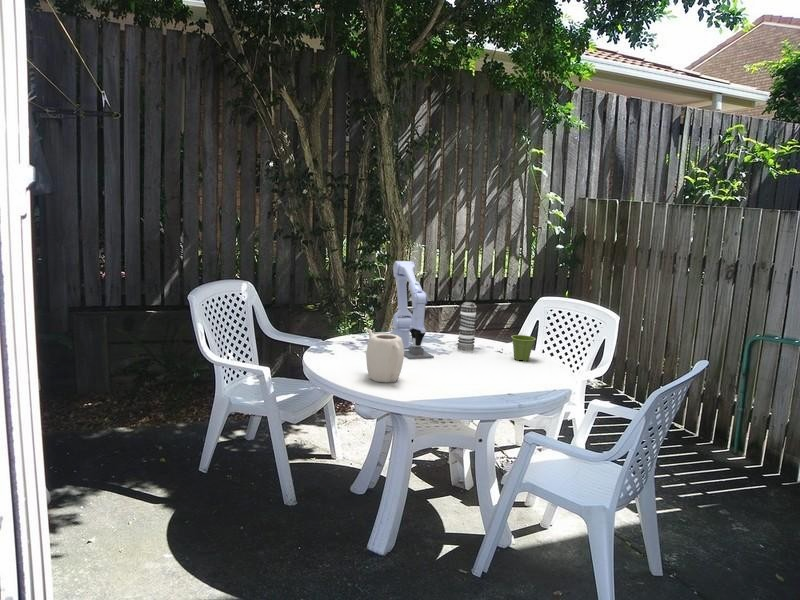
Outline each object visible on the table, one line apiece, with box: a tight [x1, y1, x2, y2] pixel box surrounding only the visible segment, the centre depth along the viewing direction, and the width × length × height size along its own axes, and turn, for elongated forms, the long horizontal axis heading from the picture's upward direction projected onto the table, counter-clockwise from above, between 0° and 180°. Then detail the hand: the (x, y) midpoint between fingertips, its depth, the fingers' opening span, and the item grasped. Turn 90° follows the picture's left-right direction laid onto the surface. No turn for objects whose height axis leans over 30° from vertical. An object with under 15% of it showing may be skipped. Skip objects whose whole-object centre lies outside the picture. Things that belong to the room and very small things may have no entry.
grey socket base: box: [404, 345, 435, 360], centre depth 343 cm, size 13×13×5 cm
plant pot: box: [511, 334, 536, 362], centre depth 346 cm, size 12×12×11 cm
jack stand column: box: [412, 338, 422, 349], centre depth 342 cm, size 3×3×7 cm
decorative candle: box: [456, 301, 478, 354], centre depth 357 cm, size 9×9×25 cm
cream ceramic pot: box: [365, 329, 405, 384], centre depth 296 cm, size 16×27×19 cm, turn 33°
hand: (416, 344), depth 342 cm, fingers closed on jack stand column, 3 cm apart
